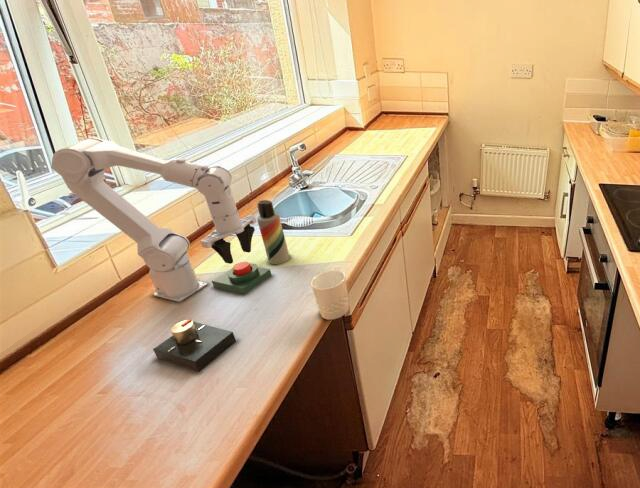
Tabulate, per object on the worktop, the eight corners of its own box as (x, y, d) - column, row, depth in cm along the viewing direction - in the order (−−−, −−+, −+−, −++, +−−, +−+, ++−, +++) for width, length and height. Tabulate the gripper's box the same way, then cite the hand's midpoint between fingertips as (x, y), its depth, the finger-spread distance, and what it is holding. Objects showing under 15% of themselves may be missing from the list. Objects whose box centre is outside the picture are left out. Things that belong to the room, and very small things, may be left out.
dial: (185, 346, 88) (179, 333, 86) (171, 342, 88) (165, 329, 87) (202, 333, 91) (197, 320, 89) (188, 330, 92) (183, 317, 90)
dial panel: (157, 359, 88) (152, 348, 87) (196, 330, 96) (192, 320, 95) (199, 372, 85) (194, 361, 84) (236, 341, 93) (232, 331, 92)
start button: (231, 274, 111) (229, 268, 110) (243, 266, 114) (241, 260, 113) (242, 277, 110) (240, 270, 109) (254, 268, 113) (252, 262, 112)
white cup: (341, 297, 108) (335, 266, 104) (357, 309, 104) (351, 278, 99) (312, 312, 102) (305, 280, 98) (328, 326, 98) (320, 293, 94)
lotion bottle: (264, 261, 123) (248, 203, 115) (282, 252, 127) (267, 195, 119) (276, 266, 120) (260, 207, 112) (293, 257, 125) (279, 199, 117)
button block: (213, 287, 111) (209, 275, 109) (241, 269, 119) (238, 258, 117) (245, 294, 108) (241, 282, 107) (271, 275, 116) (268, 264, 115)
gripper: (210, 228, 97) (226, 274, 103) (259, 203, 110) (271, 245, 115) (188, 224, 99) (204, 269, 104) (239, 200, 111) (251, 242, 117)
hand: (238, 256), depth 110 cm, fingers open, 5 cm apart
